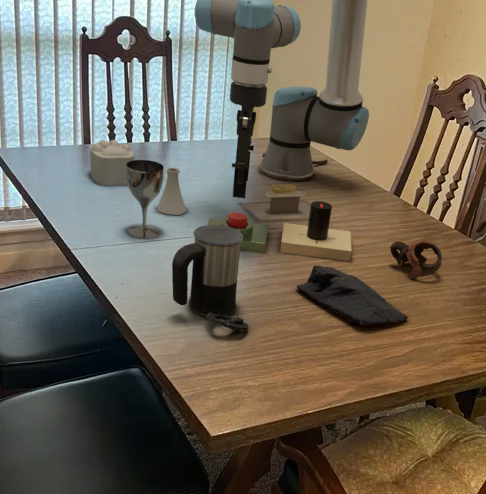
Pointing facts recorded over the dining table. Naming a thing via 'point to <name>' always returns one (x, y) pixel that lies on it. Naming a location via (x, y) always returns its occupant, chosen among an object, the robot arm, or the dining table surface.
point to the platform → (283, 202)
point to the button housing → (247, 234)
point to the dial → (319, 220)
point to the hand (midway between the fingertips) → (240, 188)
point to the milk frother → (210, 274)
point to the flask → (172, 195)
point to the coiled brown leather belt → (416, 257)
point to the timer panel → (316, 243)
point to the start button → (237, 219)
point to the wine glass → (144, 190)
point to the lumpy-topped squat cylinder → (110, 162)
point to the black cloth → (349, 297)
